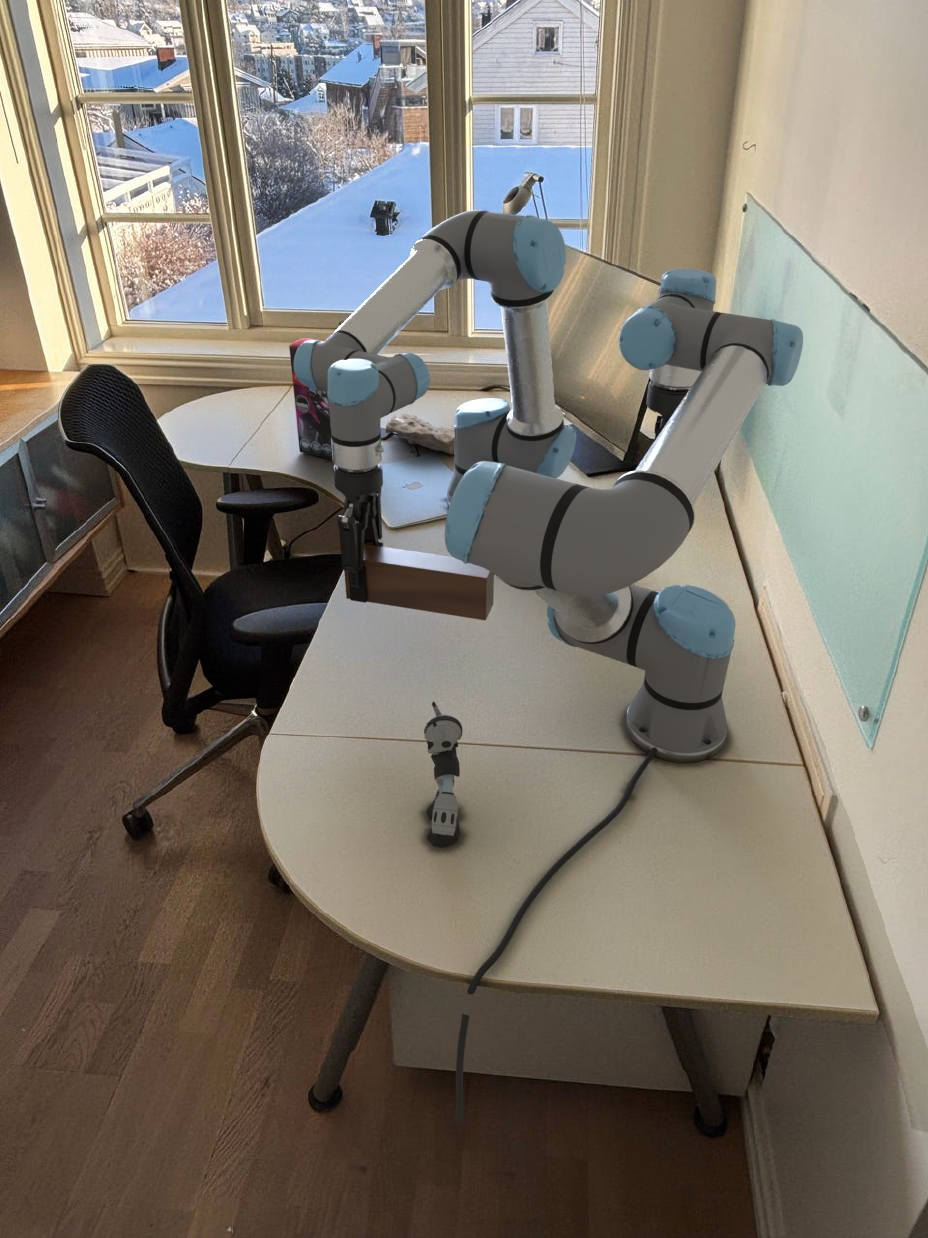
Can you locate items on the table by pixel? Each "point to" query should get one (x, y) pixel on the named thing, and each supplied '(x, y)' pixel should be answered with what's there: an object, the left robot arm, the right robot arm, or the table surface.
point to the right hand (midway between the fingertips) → (656, 512)
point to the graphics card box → (311, 414)
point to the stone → (422, 433)
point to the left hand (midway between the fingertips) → (365, 591)
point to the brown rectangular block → (426, 582)
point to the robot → (443, 777)
